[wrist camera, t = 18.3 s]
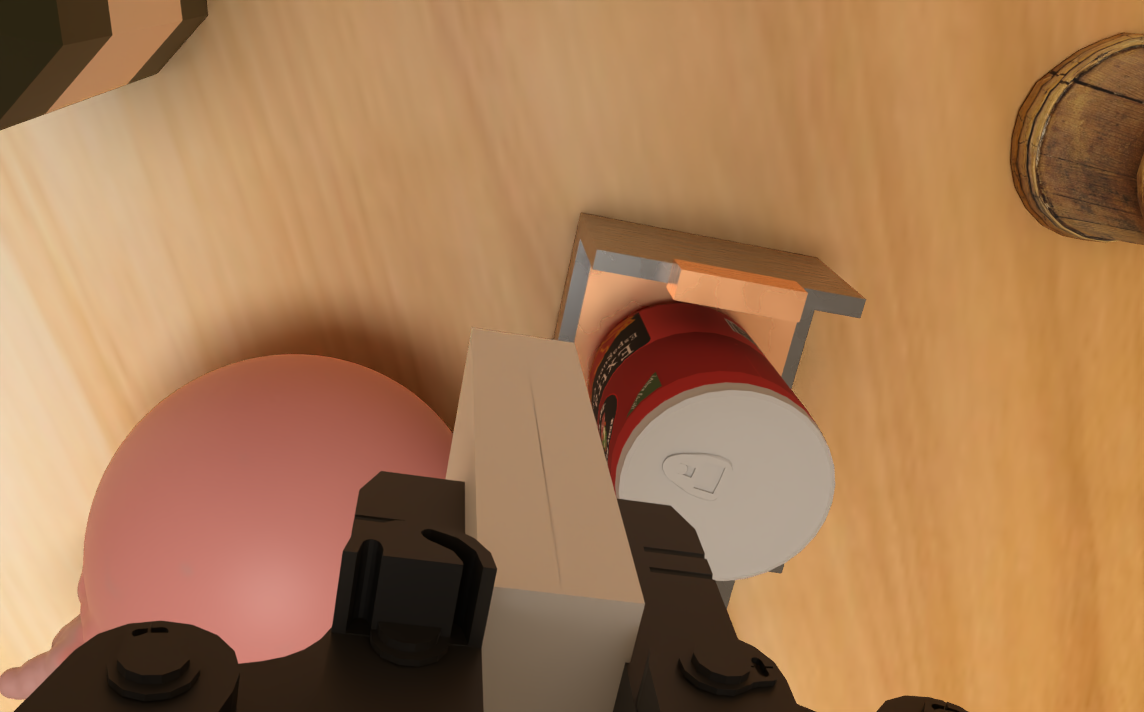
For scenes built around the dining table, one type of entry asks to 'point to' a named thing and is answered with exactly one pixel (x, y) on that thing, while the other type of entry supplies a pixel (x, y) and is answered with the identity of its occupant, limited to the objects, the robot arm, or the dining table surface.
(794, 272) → the rack
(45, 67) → the wine bottle
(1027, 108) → the wooden mug
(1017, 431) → the dining table surface
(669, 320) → the canned food
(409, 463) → the balloon
